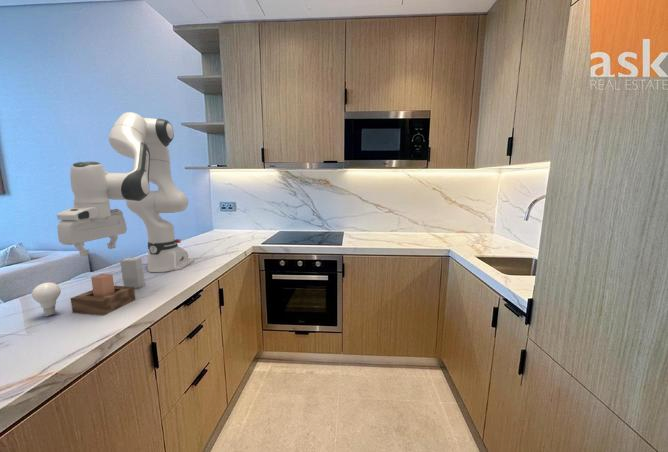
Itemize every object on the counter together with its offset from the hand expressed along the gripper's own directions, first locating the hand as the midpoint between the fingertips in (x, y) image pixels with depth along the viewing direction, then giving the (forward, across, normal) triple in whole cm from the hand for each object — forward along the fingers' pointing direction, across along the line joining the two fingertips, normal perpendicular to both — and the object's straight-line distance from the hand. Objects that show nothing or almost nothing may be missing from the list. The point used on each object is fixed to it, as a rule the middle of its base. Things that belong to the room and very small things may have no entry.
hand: (99, 251), depth 92 cm
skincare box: (+20, -17, -5) cm, 27 cm away
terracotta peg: (+19, 0, 0) cm, 19 cm away
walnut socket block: (+20, 0, 0) cm, 20 cm away
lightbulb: (+20, +9, -11) cm, 24 cm away
